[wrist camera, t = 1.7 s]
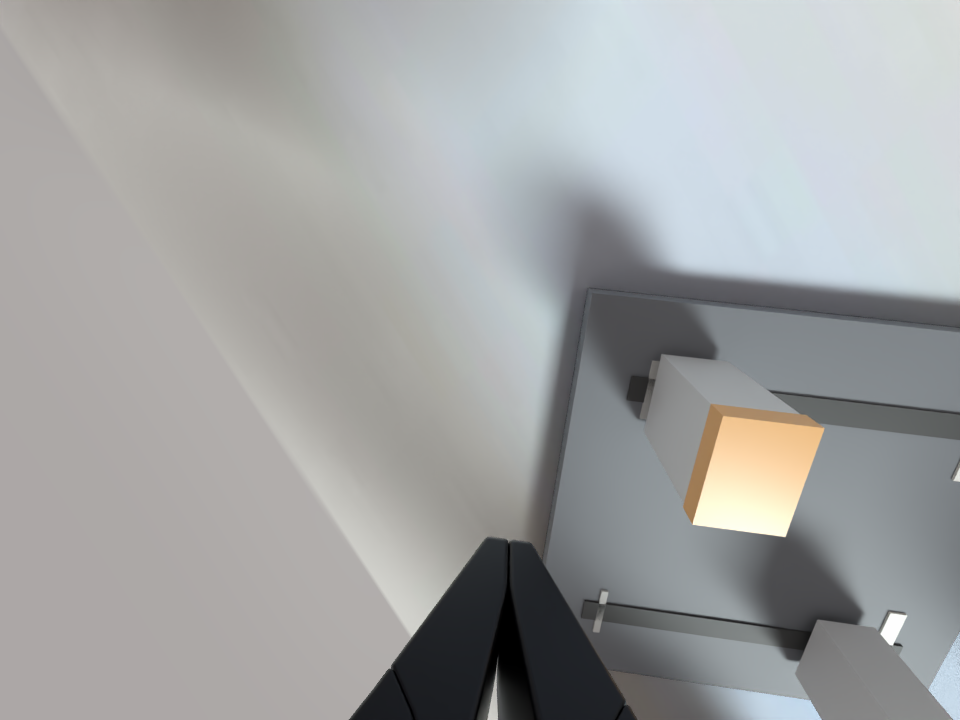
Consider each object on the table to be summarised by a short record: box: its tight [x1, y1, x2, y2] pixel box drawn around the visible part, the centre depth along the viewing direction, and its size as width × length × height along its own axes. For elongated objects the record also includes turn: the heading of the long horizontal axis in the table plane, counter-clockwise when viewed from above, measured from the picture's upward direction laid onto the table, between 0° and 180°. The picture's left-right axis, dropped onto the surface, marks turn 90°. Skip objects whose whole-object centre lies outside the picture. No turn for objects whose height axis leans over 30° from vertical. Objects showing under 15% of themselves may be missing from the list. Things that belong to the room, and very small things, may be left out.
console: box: [542, 288, 960, 700], centre depth 20 cm, size 18×18×1 cm
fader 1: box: [644, 354, 825, 537], centre depth 15 cm, size 3×2×6 cm
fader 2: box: [795, 620, 953, 720], centre depth 18 cm, size 3×2×6 cm
